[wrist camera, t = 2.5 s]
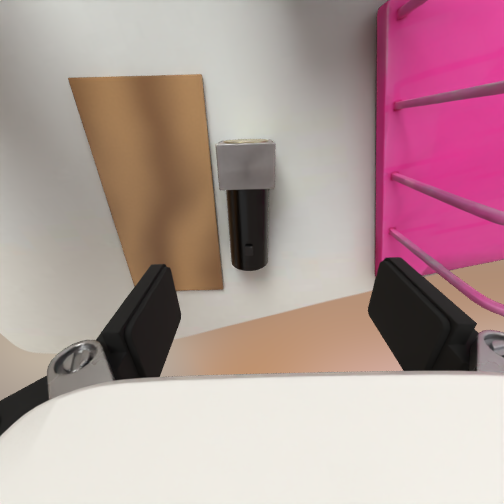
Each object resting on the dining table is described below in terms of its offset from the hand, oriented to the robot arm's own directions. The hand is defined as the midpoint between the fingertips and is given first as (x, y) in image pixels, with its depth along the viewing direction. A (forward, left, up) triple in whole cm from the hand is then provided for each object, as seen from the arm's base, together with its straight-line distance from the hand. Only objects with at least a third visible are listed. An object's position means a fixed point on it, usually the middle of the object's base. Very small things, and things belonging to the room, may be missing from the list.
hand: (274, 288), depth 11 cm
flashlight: (-1, -1, -16) cm, 16 cm away
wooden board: (-10, -1, -16) cm, 19 cm away
